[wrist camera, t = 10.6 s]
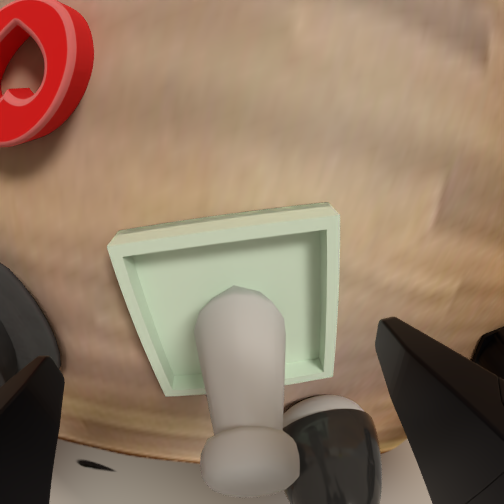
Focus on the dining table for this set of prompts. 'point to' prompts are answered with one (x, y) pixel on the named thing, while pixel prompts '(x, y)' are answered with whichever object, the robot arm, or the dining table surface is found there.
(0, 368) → the casserole
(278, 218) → the tray
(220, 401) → the salt shaker
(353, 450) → the dark grey egg shape
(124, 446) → the dining table surface
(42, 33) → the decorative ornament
